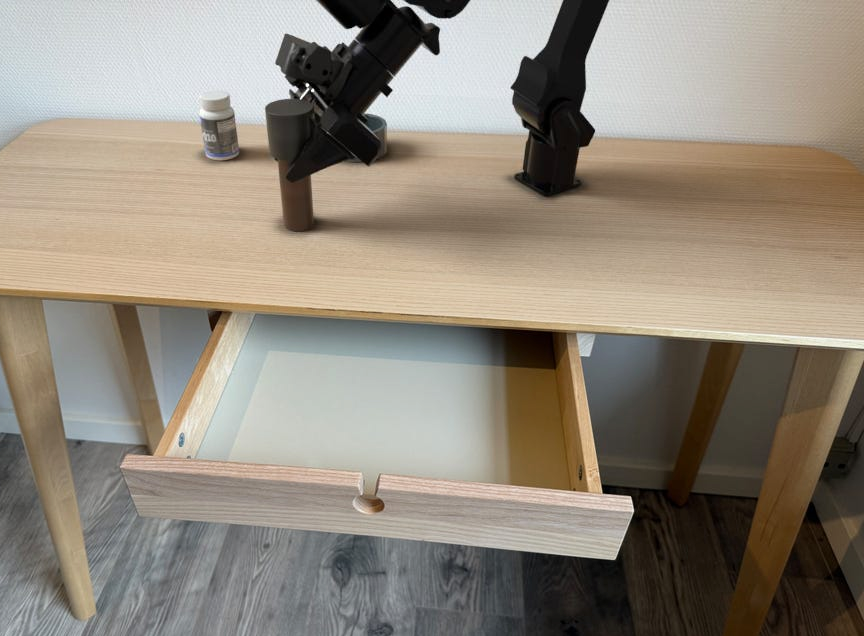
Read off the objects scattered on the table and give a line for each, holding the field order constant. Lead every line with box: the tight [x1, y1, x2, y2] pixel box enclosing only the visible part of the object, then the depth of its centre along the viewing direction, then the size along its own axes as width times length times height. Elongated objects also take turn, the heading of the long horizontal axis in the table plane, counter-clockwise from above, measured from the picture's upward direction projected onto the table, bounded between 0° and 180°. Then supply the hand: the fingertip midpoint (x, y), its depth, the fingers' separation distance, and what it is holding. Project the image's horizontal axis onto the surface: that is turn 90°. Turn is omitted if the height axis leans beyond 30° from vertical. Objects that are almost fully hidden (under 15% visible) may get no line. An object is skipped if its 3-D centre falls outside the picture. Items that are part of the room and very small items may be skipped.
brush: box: [264, 98, 315, 232], centre depth 81 cm, size 5×5×14 cm
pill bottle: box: [198, 89, 240, 161], centre depth 98 cm, size 5×5×8 cm
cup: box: [345, 112, 388, 163], centre depth 101 cm, size 8×8×4 cm
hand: (282, 170), depth 80 cm, fingers closed on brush, 5 cm apart
